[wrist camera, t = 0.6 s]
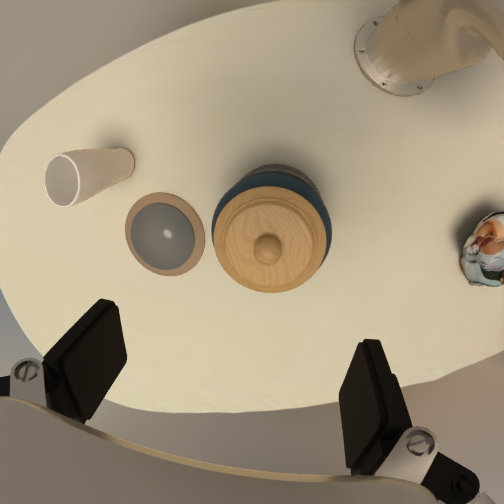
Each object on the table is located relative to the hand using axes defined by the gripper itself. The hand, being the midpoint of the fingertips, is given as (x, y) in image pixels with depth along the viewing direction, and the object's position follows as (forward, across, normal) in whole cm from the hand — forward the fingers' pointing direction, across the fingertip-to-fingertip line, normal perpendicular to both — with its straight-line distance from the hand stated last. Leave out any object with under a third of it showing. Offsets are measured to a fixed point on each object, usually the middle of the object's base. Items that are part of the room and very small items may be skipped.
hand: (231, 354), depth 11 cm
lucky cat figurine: (+33, -37, +2) cm, 50 cm away
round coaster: (+34, +17, +9) cm, 39 cm away
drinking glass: (+34, +24, -3) cm, 42 cm away
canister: (+34, -1, +2) cm, 34 cm away
